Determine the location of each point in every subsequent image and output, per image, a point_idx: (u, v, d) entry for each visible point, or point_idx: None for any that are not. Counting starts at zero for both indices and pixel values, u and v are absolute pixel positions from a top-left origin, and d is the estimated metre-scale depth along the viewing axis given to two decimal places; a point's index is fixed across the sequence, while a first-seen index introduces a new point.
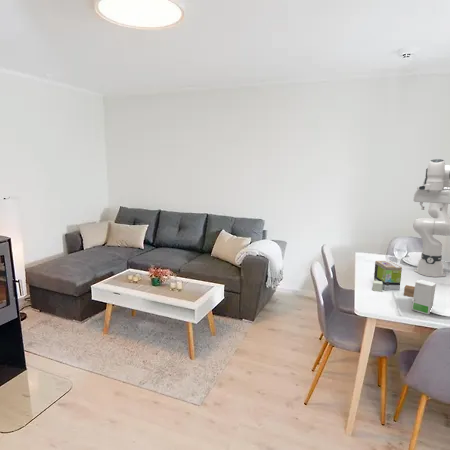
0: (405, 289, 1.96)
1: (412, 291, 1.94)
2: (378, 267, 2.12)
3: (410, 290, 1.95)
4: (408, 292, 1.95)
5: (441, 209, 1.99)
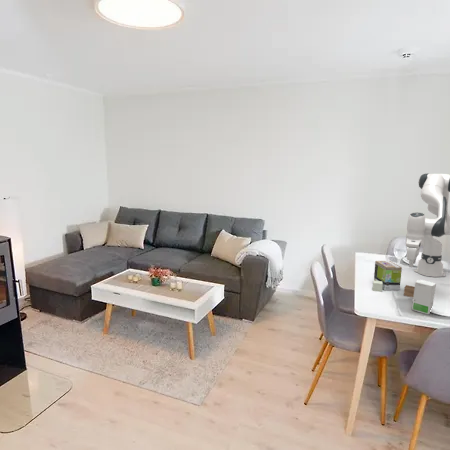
0: (405, 289, 1.96)
1: (412, 291, 1.94)
2: (378, 267, 2.12)
3: (410, 290, 1.95)
4: (408, 292, 1.95)
5: (415, 262, 1.97)
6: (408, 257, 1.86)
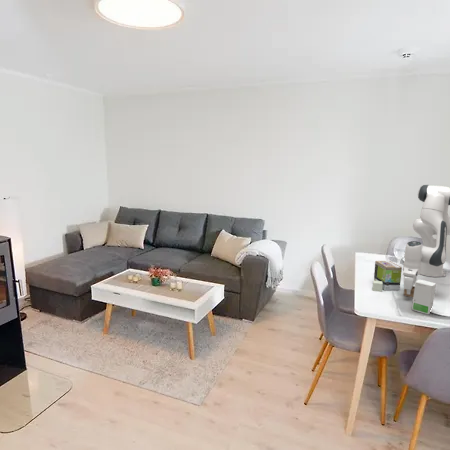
0: (405, 289, 1.96)
1: (412, 291, 1.94)
2: (378, 267, 2.12)
3: None
4: None
5: None
6: (405, 286, 1.89)
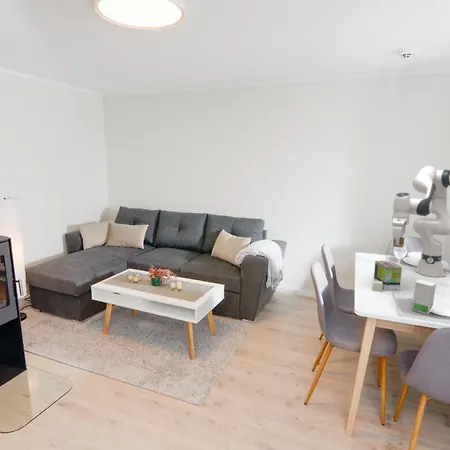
0: (394, 240, 2.01)
1: (401, 241, 1.99)
2: (378, 267, 2.12)
3: (399, 241, 1.99)
4: None
5: None
6: (394, 235, 1.93)
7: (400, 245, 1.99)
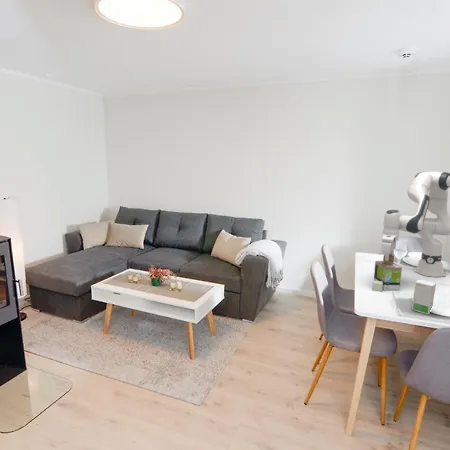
0: (384, 257, 2.08)
1: (390, 259, 2.06)
2: (378, 267, 2.12)
3: None
4: None
5: None
6: (383, 251, 2.01)
7: (390, 263, 2.07)
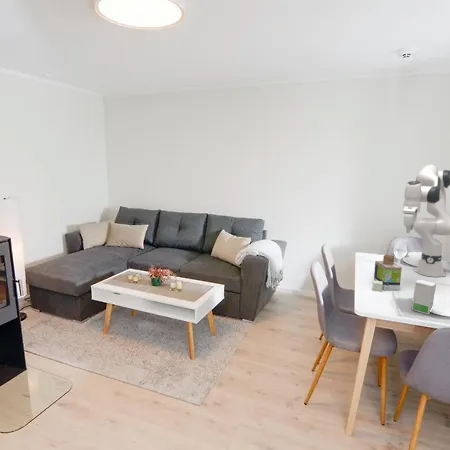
0: (384, 257, 2.08)
1: (391, 259, 2.06)
2: (378, 267, 2.12)
3: (388, 259, 2.07)
4: (387, 260, 2.07)
5: (412, 228, 2.08)
6: (405, 223, 1.97)
7: (390, 263, 2.06)
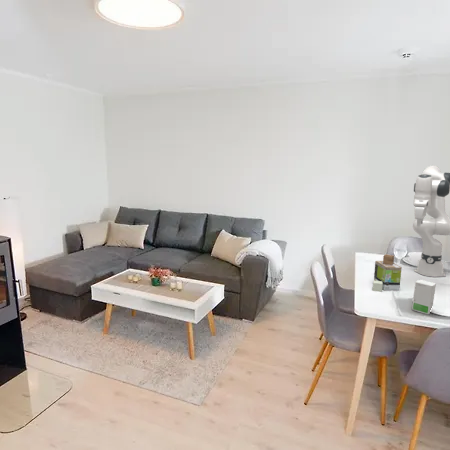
0: (384, 257, 2.08)
1: (390, 259, 2.06)
2: (378, 267, 2.12)
3: (388, 259, 2.07)
4: (387, 260, 2.07)
5: (422, 222, 2.07)
6: (416, 216, 1.96)
7: (389, 263, 2.06)
